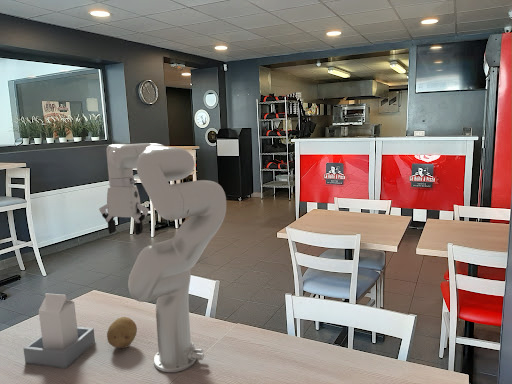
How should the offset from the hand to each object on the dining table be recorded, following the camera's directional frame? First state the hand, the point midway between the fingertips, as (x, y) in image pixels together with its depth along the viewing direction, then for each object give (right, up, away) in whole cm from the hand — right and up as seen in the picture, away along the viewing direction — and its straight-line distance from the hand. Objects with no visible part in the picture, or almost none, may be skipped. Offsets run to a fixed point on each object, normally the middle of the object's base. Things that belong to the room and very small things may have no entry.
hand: (125, 233), depth 132 cm
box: (-18, -37, -8) cm, 41 cm away
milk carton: (-17, -36, -8) cm, 41 cm away
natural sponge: (+1, -36, -6) cm, 37 cm away
